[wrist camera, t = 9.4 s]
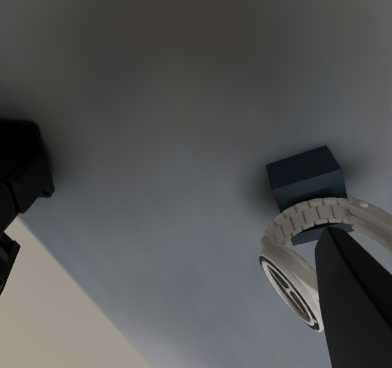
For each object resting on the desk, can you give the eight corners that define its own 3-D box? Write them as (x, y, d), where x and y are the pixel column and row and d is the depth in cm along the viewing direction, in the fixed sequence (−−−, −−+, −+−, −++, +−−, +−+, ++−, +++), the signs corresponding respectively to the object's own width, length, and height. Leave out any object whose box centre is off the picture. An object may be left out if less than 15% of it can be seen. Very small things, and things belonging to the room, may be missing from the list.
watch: (240, 173, 23) (254, 304, 14) (353, 136, 20) (458, 264, 11) (262, 224, 25) (286, 361, 16) (364, 197, 23) (455, 339, 14)
